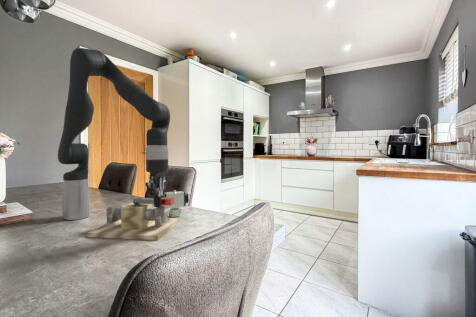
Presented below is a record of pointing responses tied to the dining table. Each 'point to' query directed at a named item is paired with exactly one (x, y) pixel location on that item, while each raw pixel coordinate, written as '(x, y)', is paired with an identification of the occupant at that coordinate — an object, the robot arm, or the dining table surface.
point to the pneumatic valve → (176, 202)
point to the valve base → (134, 233)
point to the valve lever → (151, 201)
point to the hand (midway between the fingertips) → (157, 206)
